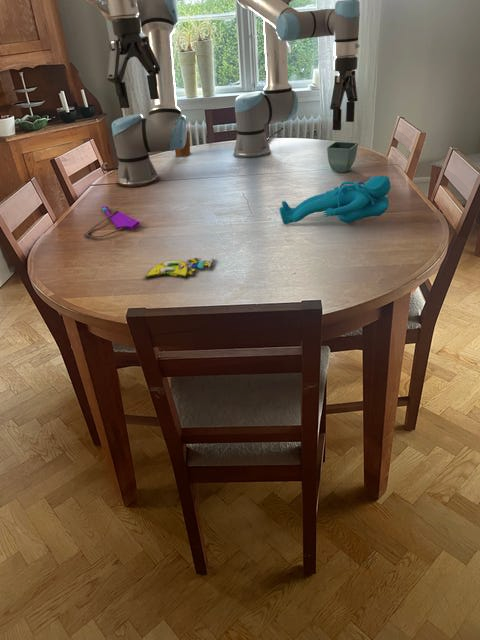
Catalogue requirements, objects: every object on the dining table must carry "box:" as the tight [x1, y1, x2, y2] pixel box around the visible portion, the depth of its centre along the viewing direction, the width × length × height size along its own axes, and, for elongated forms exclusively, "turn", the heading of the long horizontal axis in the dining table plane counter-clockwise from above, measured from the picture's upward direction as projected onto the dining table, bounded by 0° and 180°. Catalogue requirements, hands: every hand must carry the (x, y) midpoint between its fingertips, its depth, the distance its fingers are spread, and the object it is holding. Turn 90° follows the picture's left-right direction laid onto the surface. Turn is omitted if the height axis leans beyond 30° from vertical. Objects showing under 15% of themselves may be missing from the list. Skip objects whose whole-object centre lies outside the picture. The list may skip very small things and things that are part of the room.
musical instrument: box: [85, 205, 141, 239], centre depth 147 cm, size 24×2×20 cm
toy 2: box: [278, 175, 392, 225], centre depth 133 cm, size 17×11×30 cm
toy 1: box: [145, 257, 214, 279], centre depth 117 cm, size 10×1×15 cm
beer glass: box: [174, 123, 191, 157], centre depth 210 cm, size 10×10×12 cm
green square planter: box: [326, 141, 359, 173], centre depth 173 cm, size 9×9×9 cm
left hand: (140, 103), depth 140 cm, fingers open, 13 cm apart
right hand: (343, 125), depth 167 cm, fingers open, 13 cm apart
